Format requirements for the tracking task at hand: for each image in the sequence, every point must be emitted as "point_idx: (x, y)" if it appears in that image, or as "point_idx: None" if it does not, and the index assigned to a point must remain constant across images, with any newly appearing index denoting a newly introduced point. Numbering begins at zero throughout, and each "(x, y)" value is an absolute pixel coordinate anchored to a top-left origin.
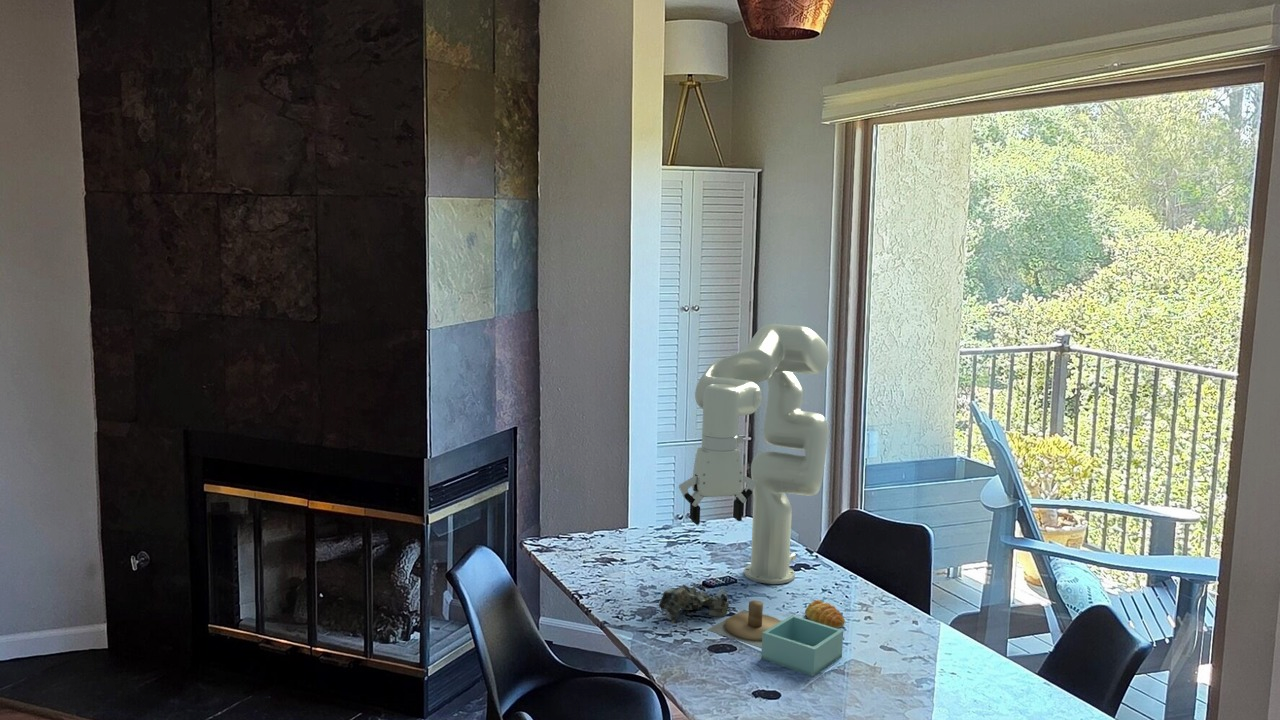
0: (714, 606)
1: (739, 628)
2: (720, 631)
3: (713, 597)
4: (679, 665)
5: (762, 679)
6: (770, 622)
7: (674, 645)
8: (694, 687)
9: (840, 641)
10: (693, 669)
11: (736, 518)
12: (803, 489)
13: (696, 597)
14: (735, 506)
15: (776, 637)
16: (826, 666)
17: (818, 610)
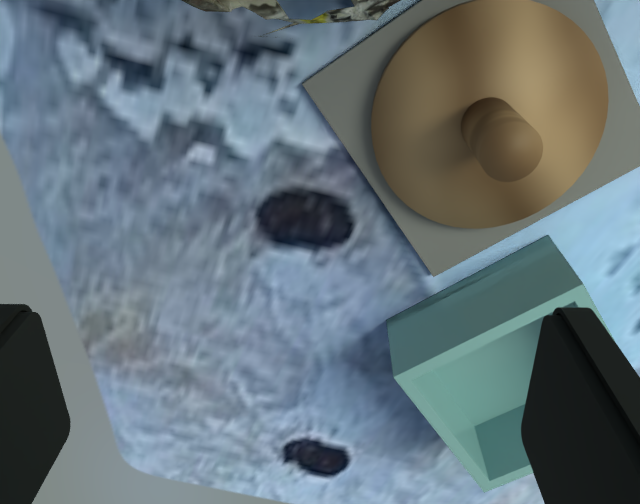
0: None
1: (414, 139)
2: (346, 112)
3: (360, 15)
4: (141, 290)
5: (338, 403)
6: (560, 116)
7: (153, 164)
8: (154, 397)
9: None
10: (175, 319)
11: (532, 401)
12: None
13: (269, 14)
14: (593, 478)
15: (420, 411)
16: None
17: None
